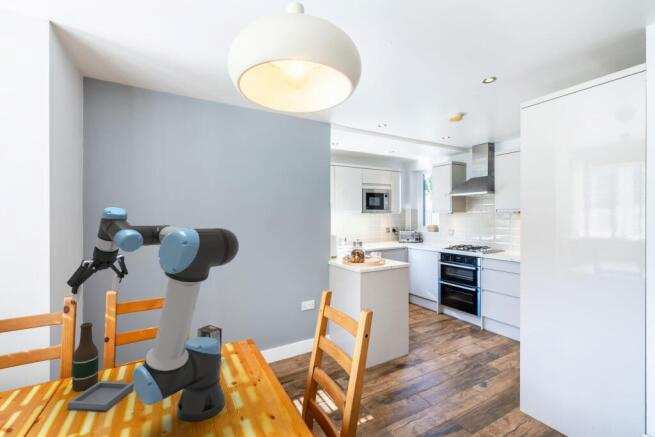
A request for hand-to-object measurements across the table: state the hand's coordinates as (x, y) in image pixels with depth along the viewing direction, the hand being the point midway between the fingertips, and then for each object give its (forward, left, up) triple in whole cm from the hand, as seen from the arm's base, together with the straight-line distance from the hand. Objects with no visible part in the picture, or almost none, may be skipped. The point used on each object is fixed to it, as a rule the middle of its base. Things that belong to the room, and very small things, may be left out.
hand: (95, 294), depth 117 cm
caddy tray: (-11, +9, -35) cm, 38 cm away
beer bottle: (+2, +2, -35) cm, 35 cm away
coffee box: (-37, -19, -35) cm, 54 cm away
